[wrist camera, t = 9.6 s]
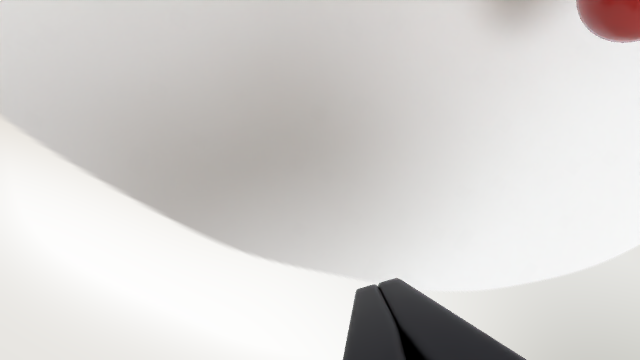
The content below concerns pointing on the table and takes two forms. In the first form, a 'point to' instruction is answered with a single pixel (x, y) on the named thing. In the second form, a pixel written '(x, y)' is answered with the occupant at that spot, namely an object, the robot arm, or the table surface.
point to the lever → (611, 19)
